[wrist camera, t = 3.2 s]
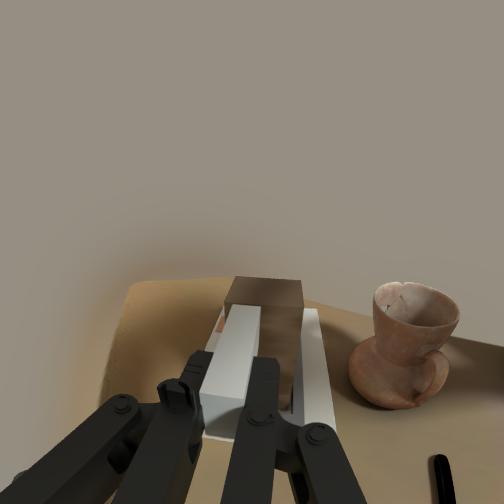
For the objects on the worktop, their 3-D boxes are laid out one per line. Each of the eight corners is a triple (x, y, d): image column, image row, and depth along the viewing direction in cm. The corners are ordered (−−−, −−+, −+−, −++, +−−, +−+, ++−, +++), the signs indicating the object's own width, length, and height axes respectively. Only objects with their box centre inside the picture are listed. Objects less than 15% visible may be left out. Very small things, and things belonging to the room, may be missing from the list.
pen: (438, 551, 6) (448, 548, 5) (430, 457, 19) (437, 450, 18) (451, 547, 5) (460, 543, 5) (440, 456, 18) (447, 448, 18)
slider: (288, 376, 33) (300, 280, 29) (288, 410, 27) (304, 307, 23) (235, 372, 34) (235, 276, 29) (227, 404, 28) (224, 301, 24)
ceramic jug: (334, 352, 41) (349, 273, 37) (408, 346, 40) (430, 273, 36) (358, 441, 24) (400, 354, 20) (450, 418, 23) (498, 335, 19)
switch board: (315, 317, 52) (318, 299, 51) (332, 446, 24) (341, 427, 22) (225, 311, 54) (225, 293, 53) (175, 431, 25) (170, 411, 24)
